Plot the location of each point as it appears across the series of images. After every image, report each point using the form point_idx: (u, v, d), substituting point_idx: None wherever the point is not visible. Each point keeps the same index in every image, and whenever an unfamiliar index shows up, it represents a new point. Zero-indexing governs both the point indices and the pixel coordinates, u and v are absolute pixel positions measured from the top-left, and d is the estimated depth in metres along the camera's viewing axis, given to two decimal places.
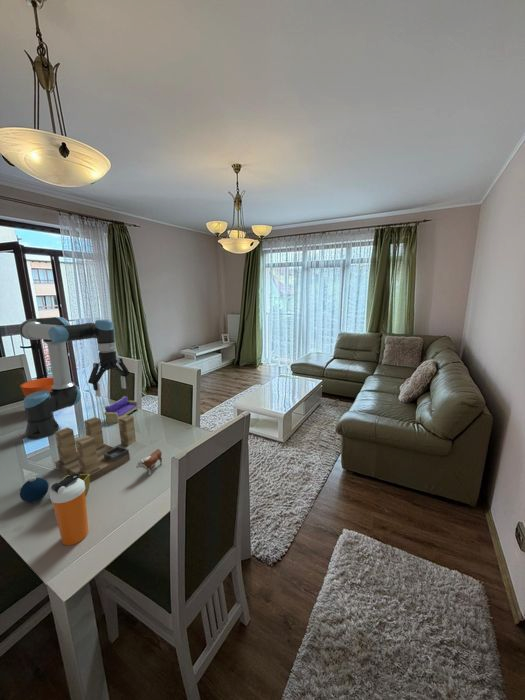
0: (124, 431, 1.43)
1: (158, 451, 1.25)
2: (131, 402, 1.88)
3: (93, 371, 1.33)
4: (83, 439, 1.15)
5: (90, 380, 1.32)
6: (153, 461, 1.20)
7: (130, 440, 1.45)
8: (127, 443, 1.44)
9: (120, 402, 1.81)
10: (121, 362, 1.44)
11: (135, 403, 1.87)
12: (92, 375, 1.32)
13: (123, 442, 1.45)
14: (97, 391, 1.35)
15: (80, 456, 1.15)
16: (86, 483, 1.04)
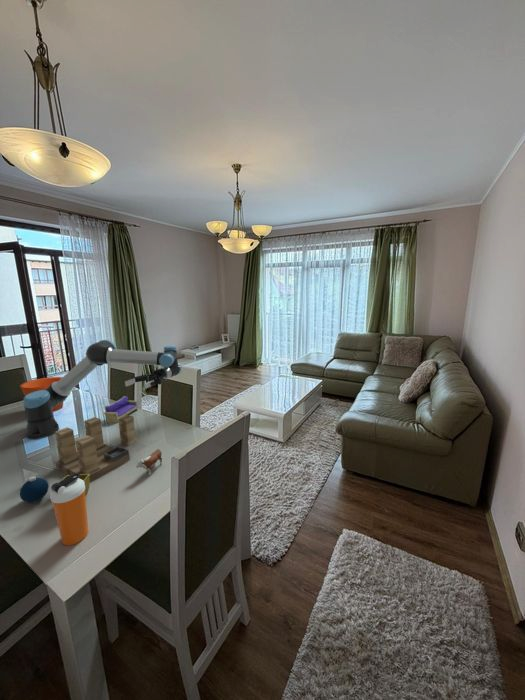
0: (124, 431, 1.43)
1: (158, 451, 1.25)
2: (131, 402, 1.88)
3: (162, 379, 1.58)
4: (83, 439, 1.15)
5: (161, 381, 1.54)
6: (153, 461, 1.20)
7: (130, 440, 1.45)
8: (127, 443, 1.44)
9: (120, 402, 1.81)
10: None
11: (135, 403, 1.88)
12: (162, 380, 1.57)
13: (123, 442, 1.45)
14: (149, 385, 1.49)
15: (80, 456, 1.15)
16: (86, 483, 1.04)
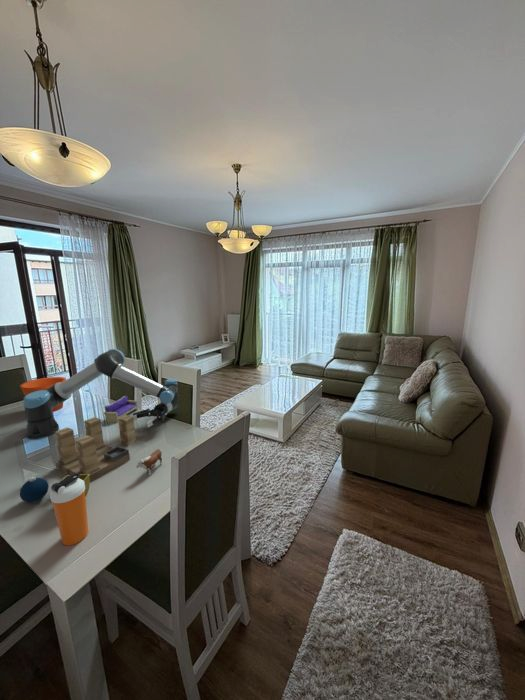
0: (124, 431, 1.43)
1: (158, 451, 1.25)
2: (131, 402, 1.89)
3: (164, 415, 1.61)
4: (83, 439, 1.15)
5: (162, 419, 1.57)
6: (153, 461, 1.20)
7: (130, 440, 1.45)
8: (127, 443, 1.44)
9: (120, 402, 1.82)
10: None
11: (135, 403, 1.88)
12: (163, 417, 1.59)
13: (123, 442, 1.45)
14: (151, 423, 1.52)
15: (80, 456, 1.15)
16: (86, 483, 1.04)
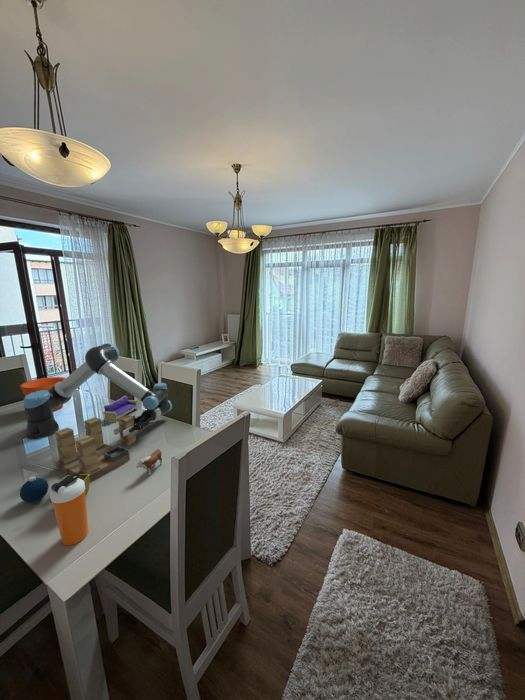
0: None
1: (158, 451, 1.25)
2: (131, 402, 1.89)
3: (147, 423, 1.50)
4: (83, 439, 1.15)
5: (141, 427, 1.46)
6: (153, 461, 1.20)
7: (130, 440, 1.45)
8: (127, 443, 1.44)
9: (120, 401, 1.82)
10: None
11: (135, 403, 1.88)
12: (144, 425, 1.49)
13: (123, 442, 1.45)
14: (127, 432, 1.42)
15: (80, 456, 1.15)
16: (86, 483, 1.04)
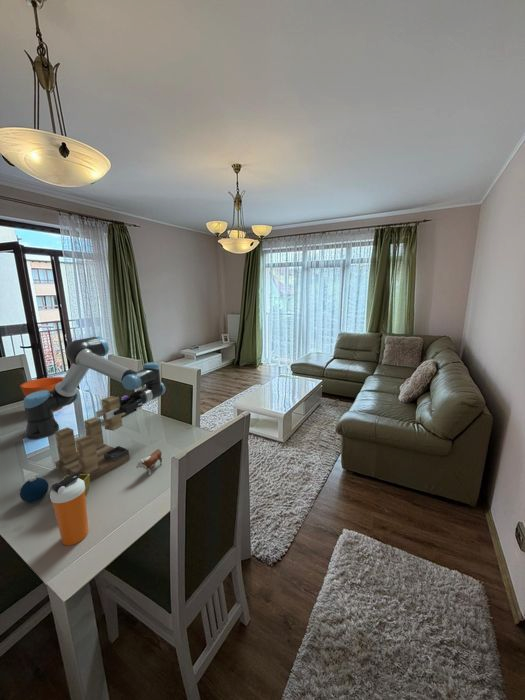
0: None
1: (158, 451, 1.25)
2: None
3: (135, 406, 1.30)
4: (83, 439, 1.15)
5: (128, 410, 1.26)
6: (153, 461, 1.20)
7: (116, 424, 1.25)
8: (111, 427, 1.24)
9: None
10: None
11: None
12: (132, 408, 1.29)
13: (107, 427, 1.24)
14: (112, 414, 1.22)
15: (80, 456, 1.15)
16: (86, 483, 1.04)
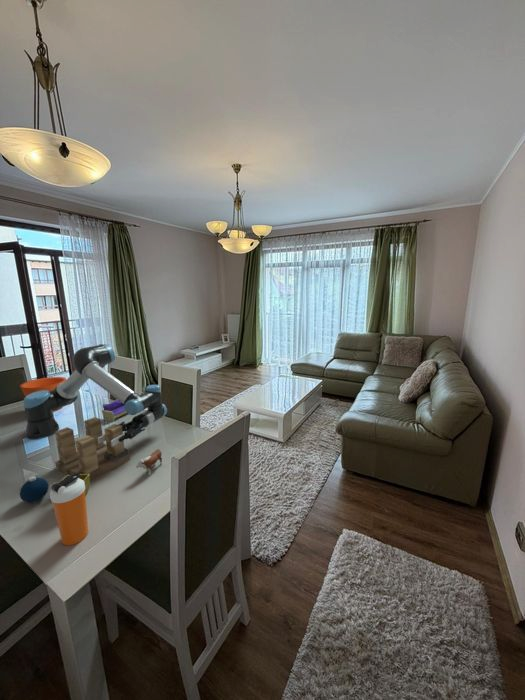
0: None
1: (158, 451, 1.25)
2: None
3: (138, 431, 1.33)
4: (83, 439, 1.15)
5: (132, 435, 1.28)
6: (153, 461, 1.20)
7: (118, 452, 1.27)
8: None
9: (120, 401, 1.84)
10: None
11: None
12: (136, 433, 1.31)
13: None
14: (117, 441, 1.24)
15: (80, 456, 1.15)
16: (86, 483, 1.04)
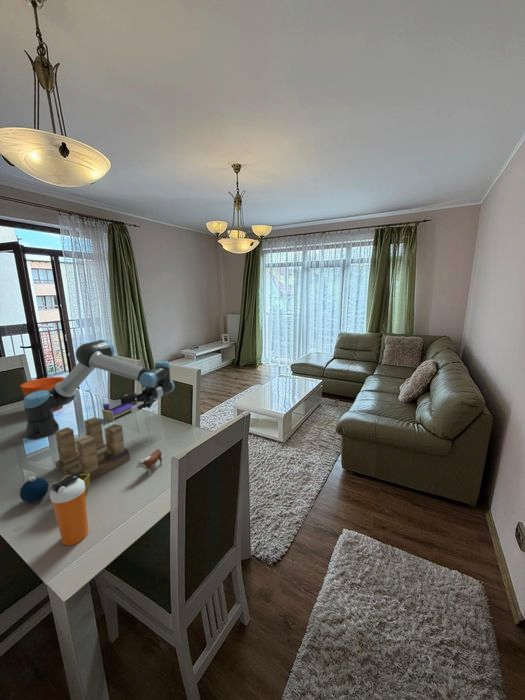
0: (111, 442, 1.25)
1: (158, 451, 1.25)
2: None
3: (152, 401, 1.40)
4: (83, 439, 1.15)
5: (150, 404, 1.35)
6: (153, 461, 1.20)
7: (118, 452, 1.27)
8: None
9: None
10: None
11: (135, 402, 1.89)
12: (151, 402, 1.38)
13: None
14: (136, 409, 1.31)
15: (80, 456, 1.15)
16: (86, 483, 1.04)
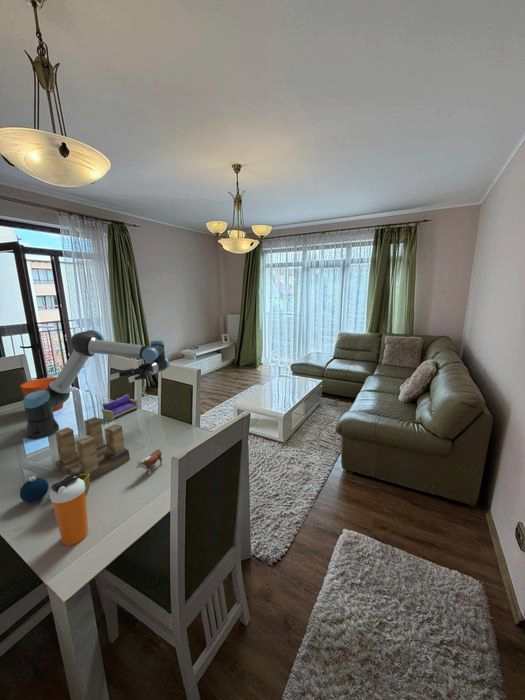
0: (111, 442, 1.25)
1: (158, 451, 1.25)
2: (132, 401, 1.90)
3: (148, 374, 1.52)
4: (83, 439, 1.15)
5: (146, 376, 1.48)
6: (153, 461, 1.20)
7: (118, 452, 1.27)
8: None
9: (120, 400, 1.85)
10: None
11: (135, 402, 1.89)
12: (147, 375, 1.50)
13: None
14: (133, 379, 1.43)
15: (80, 456, 1.15)
16: (86, 483, 1.04)
